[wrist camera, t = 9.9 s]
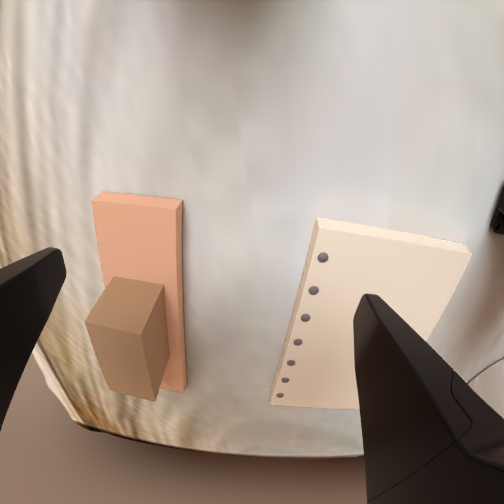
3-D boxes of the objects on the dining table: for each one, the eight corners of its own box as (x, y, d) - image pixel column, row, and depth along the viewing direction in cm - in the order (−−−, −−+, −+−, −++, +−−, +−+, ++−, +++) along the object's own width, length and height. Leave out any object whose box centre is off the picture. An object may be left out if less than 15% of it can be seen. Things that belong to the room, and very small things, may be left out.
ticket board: (463, 243, 20) (473, 255, 19) (376, 397, 31) (378, 409, 30) (316, 217, 20) (319, 228, 19) (270, 392, 31) (269, 405, 30)
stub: (182, 199, 20) (147, 253, 15) (186, 381, 31) (173, 434, 25) (102, 191, 20) (50, 237, 15) (133, 369, 31) (114, 419, 25)
